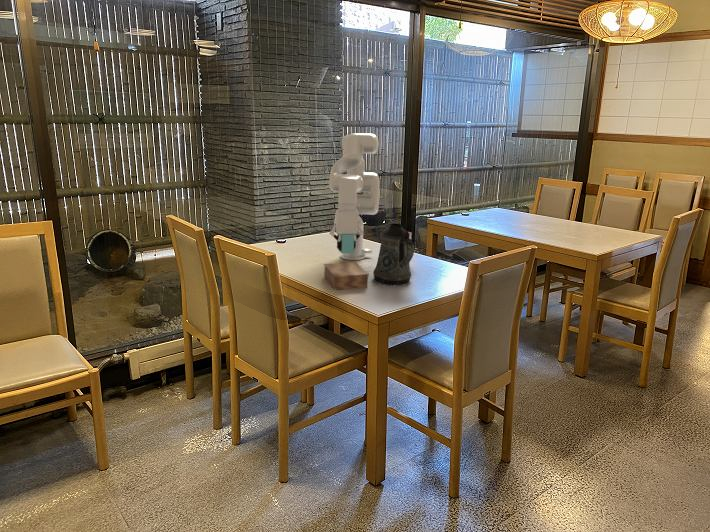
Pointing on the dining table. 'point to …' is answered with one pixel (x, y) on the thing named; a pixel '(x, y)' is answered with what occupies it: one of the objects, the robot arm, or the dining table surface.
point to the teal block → (347, 243)
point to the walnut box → (346, 275)
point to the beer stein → (394, 256)
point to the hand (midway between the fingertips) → (346, 249)
